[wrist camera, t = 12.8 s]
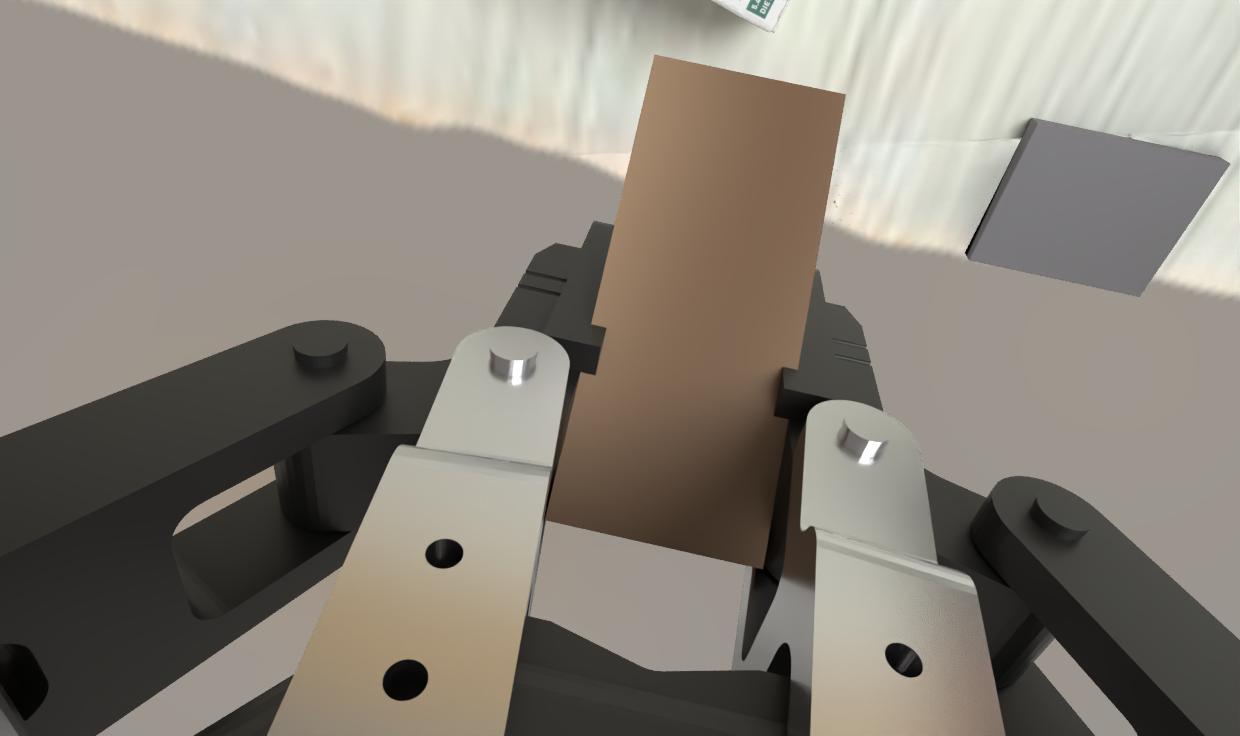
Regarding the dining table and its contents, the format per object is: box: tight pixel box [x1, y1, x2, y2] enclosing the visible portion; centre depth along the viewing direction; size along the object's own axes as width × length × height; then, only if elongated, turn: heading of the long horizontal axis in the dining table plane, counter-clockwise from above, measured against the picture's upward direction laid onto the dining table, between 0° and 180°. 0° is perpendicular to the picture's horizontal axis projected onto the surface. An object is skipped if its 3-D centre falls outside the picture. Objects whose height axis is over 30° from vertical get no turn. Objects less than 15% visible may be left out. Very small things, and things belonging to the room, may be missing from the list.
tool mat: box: [965, 118, 1230, 297], centre depth 39 cm, size 10×8×1 cm
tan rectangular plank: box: [545, 55, 846, 569], centre depth 16 cm, size 2×6×16 cm
